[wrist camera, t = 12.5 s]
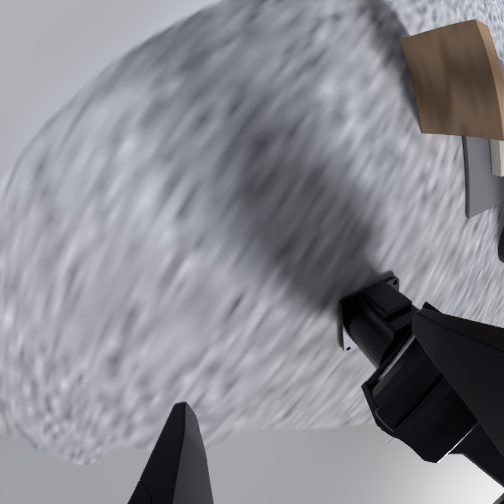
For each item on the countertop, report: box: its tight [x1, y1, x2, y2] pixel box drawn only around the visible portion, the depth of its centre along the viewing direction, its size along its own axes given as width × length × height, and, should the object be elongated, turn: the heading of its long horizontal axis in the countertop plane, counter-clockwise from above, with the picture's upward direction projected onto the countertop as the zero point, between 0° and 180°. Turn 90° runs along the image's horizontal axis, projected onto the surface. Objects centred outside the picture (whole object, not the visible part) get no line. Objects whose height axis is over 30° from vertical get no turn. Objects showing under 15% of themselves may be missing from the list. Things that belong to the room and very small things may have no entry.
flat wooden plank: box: [400, 19, 504, 141], centre depth 14 cm, size 9×2×9 cm, turn 13°
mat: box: [463, 59, 504, 218], centre depth 21 cm, size 20×16×1 cm
